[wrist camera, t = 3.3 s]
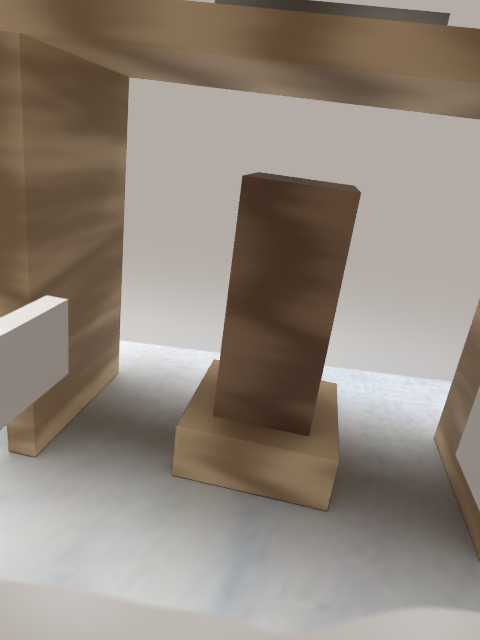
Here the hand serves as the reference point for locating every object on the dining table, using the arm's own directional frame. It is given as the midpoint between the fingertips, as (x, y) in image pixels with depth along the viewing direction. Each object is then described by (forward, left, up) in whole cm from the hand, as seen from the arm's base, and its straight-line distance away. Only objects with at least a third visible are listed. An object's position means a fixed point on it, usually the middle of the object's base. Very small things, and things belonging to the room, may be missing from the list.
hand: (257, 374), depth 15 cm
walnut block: (0, -10, -6) cm, 12 cm away
